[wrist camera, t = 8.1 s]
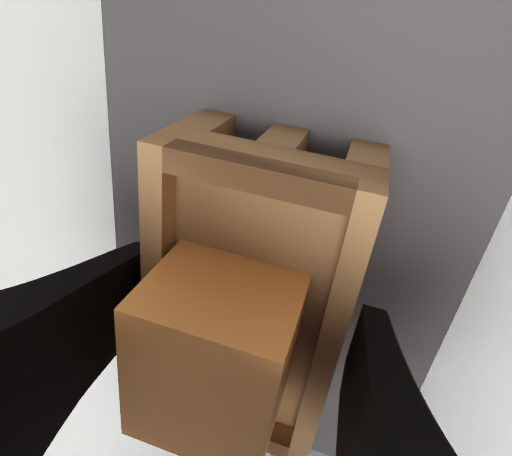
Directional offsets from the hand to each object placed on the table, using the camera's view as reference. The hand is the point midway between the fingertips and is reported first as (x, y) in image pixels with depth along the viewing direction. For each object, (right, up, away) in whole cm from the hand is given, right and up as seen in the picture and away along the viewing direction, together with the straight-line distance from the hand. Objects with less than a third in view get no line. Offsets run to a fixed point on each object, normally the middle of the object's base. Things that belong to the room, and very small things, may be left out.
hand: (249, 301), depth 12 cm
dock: (+2, +2, +5) cm, 5 cm away
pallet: (+1, +1, +2) cm, 2 cm away
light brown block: (0, 0, 0) cm, 1 cm away
